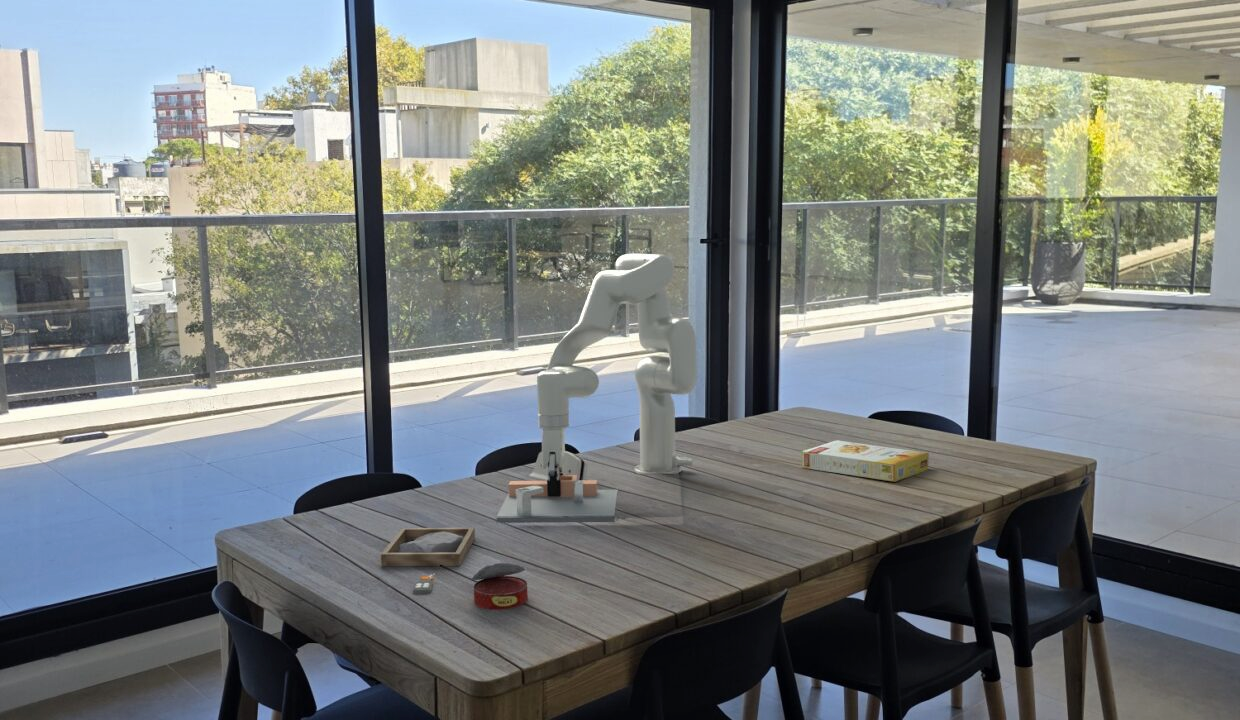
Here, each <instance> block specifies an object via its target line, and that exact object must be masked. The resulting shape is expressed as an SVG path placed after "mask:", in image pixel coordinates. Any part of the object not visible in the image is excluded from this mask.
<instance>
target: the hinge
mask: <svg viewBox="0 0 1240 720" xmlns="http://www.w3.org/2000/svg"><path fill="white" fill-rule="evenodd" d="M587 470H588V463H587V461H586V460H585V459H584V458H582V456H581V457H580V456H579V455H577V454H575V453H573V452H570V451H567V450H565V455H564V463H563V465H562V473H563V475H577V480H586V478H587ZM528 476H529V477H531V478H535V479H539V480H542V481H547V480H548V465H547V467H546V468H545V469H543V468H542V451H540V452H538V454H537V459H536V461H535V464H534V467H533V470H532V472H531V473H530V474H528Z"/></svg>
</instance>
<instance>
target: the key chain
mask: <svg viewBox="0 0 1240 720" xmlns="http://www.w3.org/2000/svg"><path fill="white" fill-rule="evenodd" d="M432 574H433V575H432ZM432 574H430V575H428V576H426V575H425V576H421V578H420V579H419V580H417V581H416V584H415V585H414V587H413V589H412V593H413V594H414V595H419V594H420V595H421V594H422V595H423V594H431V593H432V589H433V580H434V576H435V575H436V573H432Z"/></svg>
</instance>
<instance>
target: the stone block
mask: <svg viewBox="0 0 1240 720" xmlns="http://www.w3.org/2000/svg"><path fill="white" fill-rule="evenodd" d="M462 541H463V537H462V536H458V535H456V534H453V533H449V532H438V533H437V532H436V533H430V534H426V535H424V536H421V537H419V538H417V539H415V540H414V541H408V542H404V543H403V544H401V545H400V549H399V553H436V552H456V551H457V549H458V547H459V546H460V544H461V542H462Z"/></svg>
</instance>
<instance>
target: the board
mask: <svg viewBox="0 0 1240 720" xmlns="http://www.w3.org/2000/svg"><path fill="white" fill-rule="evenodd" d="M618 490H619V489H597V496H583V502H582V503H575V502H574V497H552V498H551V497H549V496H531V514H529V515H524V516H522V515H519V514H517V497H516V496H509V492H508V494H507V496H506V497H505V499H504V501H503V503H502V505H501V507H500V509H499V511H498V513H497V514H496V523H497V522H501V524H502V522H504V523H505V524H513V523H514V524H517V523H518V524H520V523H521V524H522V523H523V524H524V523H525V522H527V524H529V523H532V524H533V523H534V524H535V523H536V524H537V523H614V522H615V519H616V517H615V513H616V505H617V499H618ZM506 522H507V523H506Z"/></svg>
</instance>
